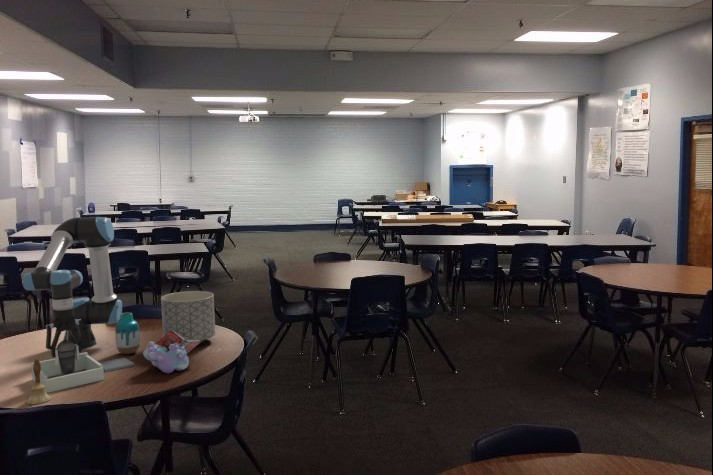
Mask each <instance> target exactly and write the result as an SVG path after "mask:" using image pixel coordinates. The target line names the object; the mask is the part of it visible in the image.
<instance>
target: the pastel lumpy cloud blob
mask: <svg viewBox="0 0 713 475" xmlns="http://www.w3.org/2000/svg"><path fill="white" fill-rule="evenodd" d="M200 342H202V341H199V340H186V341H185V339H184V338H183V337H181V336H180V335H178V334H177V333H176V332H174V331H172V330H170V331H169V332H168V333H167V334H166V335H165V336H164V337H163V336H162V337H161V338H160V339H159V340H158V341H157V342H156V343H155V342H154V341H152V340H151V341H148V344H147V345H145V349H144V350H143V352H142V355H143V356H144V358H145V359H146V360H147V361H150V362H151V364H152V365H153V366H154V367H156V368H158V369H159V370H160V371H161V372H163V373H165V374H167V375H169V374H172V373H173V371H179V372H180V371H184V370H185V369H186V368H187V369H188V366H189V363H190V358H189V356H188V353H190V352H191V351H192V350H193V349H194V348H196V347H197V346H198V345H200V344H201V343H200ZM199 343H200V344H199ZM202 343H203V342H202Z"/></svg>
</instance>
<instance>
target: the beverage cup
mask: <svg viewBox="0 0 713 475" xmlns="http://www.w3.org/2000/svg"><path fill="white" fill-rule="evenodd" d="M56 349H57V350H58V358H59V363H60V369H61V374H60V375H61V376H64V375H69V374H73V373H76V371H75V352H76V348H75V345H74V343H73V342H72V341H70V340H68V330H67V340H61V341H60V342H59V343H57V346H56Z"/></svg>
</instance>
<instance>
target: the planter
mask: <svg viewBox="0 0 713 475" xmlns="http://www.w3.org/2000/svg"><path fill="white" fill-rule="evenodd" d="M160 302H161V321H162V337H164V336H165V335H166V334H167V333H168V332H169V331H170V330H172V331H174V332H176V333H177V334H178V335H180V336H181V337H183V338H184V339H185V341H186V340H199V341H202V342H200V343H199V344H198V345H200V344H203V343H204V342H205V341H207V340H208V339H210V338H212V337H213V336H216V320H215V319H216V317H215V316H216V315H215V296H214V293H213V292H211V291H203V290H195V291H194V290H189V291H186V290H185V291H179V292H172V293H168V294H165V295H162V296H161V298H160Z"/></svg>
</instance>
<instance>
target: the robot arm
mask: <svg viewBox="0 0 713 475" xmlns="http://www.w3.org/2000/svg"><path fill="white" fill-rule="evenodd" d="M114 239H115V230H114V225H113V223H112V221H111V220H110V218H108V217H106V216H105V217H104V216H103V217H102V216H89V217H87V216H86V217H73V218H69V219H67V220H66V221H63V222H62V223H61V224H60V225H58V226H57V227H56V228H55V229H54V230H53V232H52V234H51V235H50V242H49V244H48V246H47V248H46V249H45V250H44V253H43V254H42V256H41V258H40V260H39V262H38V264H37V265H36V266H35V269H33V272H31V271H29V272H26V273H24V275H23V276H22V280H21V281H22V286H23V288H24V290H26V291H51V301H52V309H53V310H52V314H53V315H52V316H53V321H52V323H49V324H46V325H45V329H46V339H45V348H46V349H47V350H50V352H51V358H52V359H55V365H57V366H58V365H59V362H58V358H59V357H58V350H57V346H58V344H59V343H58V342H59V339H60V336H61V334H62V332H65V333H64V336H63V340H67V330H68V340H70V341H72V342H73V343H74V345H75V348H76V352H75V360H76V361H79V354H80V353H82V349H87V348H91V347H93V346H95V345H96V344H97V339H96V336H95V334H94V332H93V330H92V325H110V324H117V323H118V322H120V314H122V313H123V301H122V300H121V299H118V295H117V294H116V293H114V289H113V281H112V280H113V279H112V273H111V272H112V271H111V262H110V256H109V247H110V246H111V243H112V242H113V240H114ZM73 243H84V247H85V248H86V249H87V250H88V256H89V262H90V263H89V264H90V270H91V278H92V286H93V293H94V294H93V295H94V296H92V298H91V300H90V297H79V298H74V299H73V290H74V289H76V288H78V287H79V286H80V285H82V283H83V281H84V280H83V279H84V277H83V274H82V272H80V271H78V270H76V269H70V270H68V269H59V270H58V267H59V265H60V263H61V261H62V260H63V258H64V255H65V253H66V252H67V249H68V248H70V247H71V246H72V245H73ZM54 328H55V333H54V336H53V339H52V333H53V331H52V330H53V329H54ZM63 340H62V341H63Z"/></svg>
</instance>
